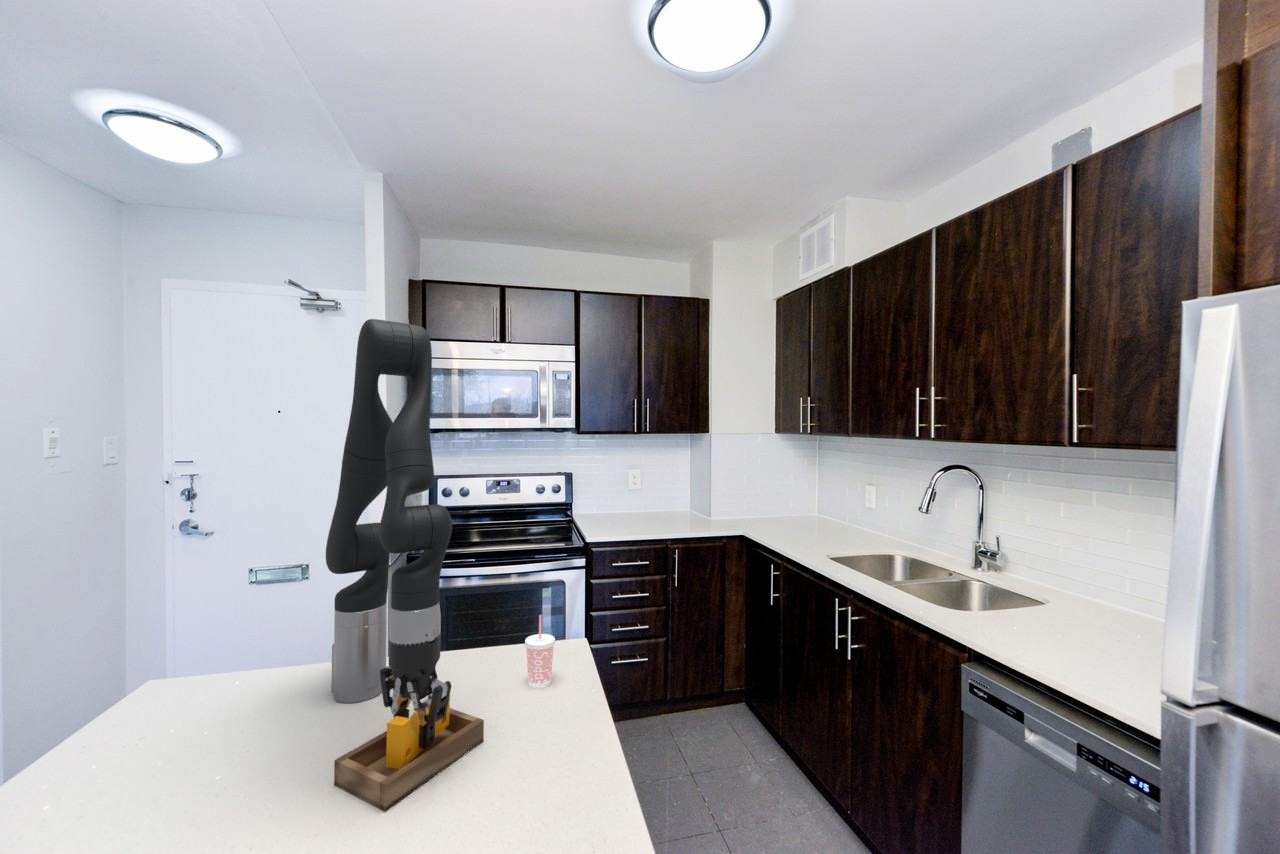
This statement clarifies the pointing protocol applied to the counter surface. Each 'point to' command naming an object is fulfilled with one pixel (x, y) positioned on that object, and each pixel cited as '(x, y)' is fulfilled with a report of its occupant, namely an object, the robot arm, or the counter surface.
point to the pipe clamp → (407, 738)
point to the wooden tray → (387, 785)
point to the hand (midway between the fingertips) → (413, 740)
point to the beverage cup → (539, 658)
